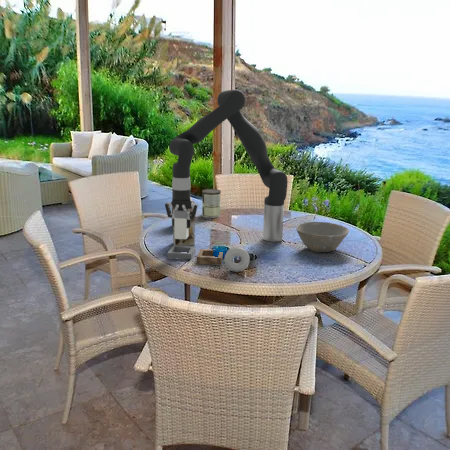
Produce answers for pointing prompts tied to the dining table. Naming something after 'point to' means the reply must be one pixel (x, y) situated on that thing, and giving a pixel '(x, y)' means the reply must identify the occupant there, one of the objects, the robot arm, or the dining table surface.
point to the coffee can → (211, 203)
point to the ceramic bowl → (321, 235)
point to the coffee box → (191, 238)
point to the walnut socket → (209, 257)
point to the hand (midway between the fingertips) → (181, 227)
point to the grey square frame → (176, 251)
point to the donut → (236, 252)
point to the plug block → (180, 224)
